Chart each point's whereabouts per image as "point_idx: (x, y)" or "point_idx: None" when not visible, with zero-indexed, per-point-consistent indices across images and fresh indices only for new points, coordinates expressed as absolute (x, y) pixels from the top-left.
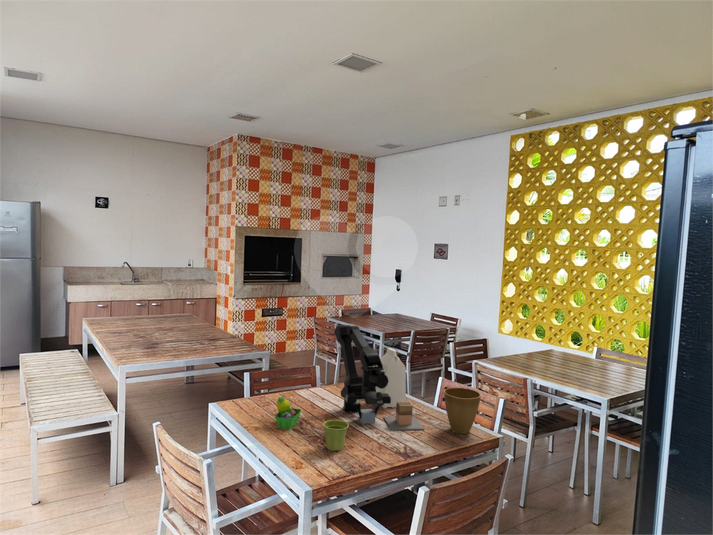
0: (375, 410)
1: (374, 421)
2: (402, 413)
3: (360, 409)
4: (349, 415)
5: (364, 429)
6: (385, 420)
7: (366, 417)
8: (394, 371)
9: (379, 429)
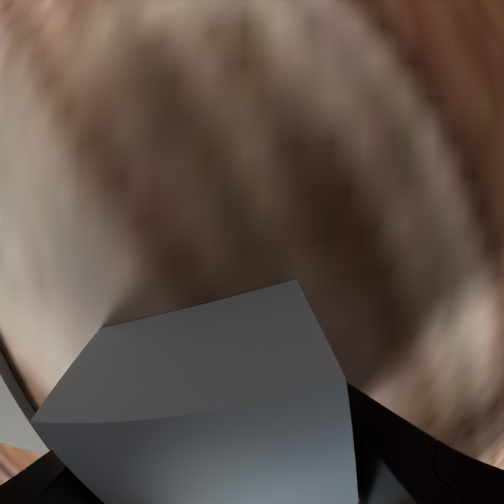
0: (40, 489)
1: (98, 335)
2: None
3: (416, 493)
4: None
5: (262, 15)
6: (13, 384)
7: (228, 350)
8: None
9: (39, 77)
